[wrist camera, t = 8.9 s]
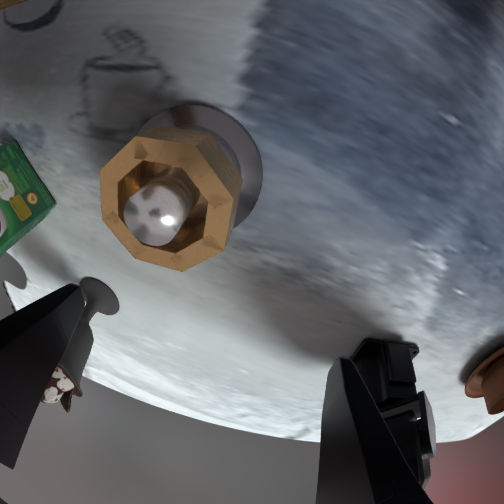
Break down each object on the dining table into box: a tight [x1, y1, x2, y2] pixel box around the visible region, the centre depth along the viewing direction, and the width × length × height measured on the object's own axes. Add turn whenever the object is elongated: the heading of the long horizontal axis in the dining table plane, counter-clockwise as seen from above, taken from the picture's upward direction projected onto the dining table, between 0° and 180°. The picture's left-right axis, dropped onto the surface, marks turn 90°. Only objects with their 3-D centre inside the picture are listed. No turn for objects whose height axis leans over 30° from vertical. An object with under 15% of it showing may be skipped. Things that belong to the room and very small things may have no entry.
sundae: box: [40, 278, 119, 412], centre depth 21 cm, size 7×7×15 cm
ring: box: [100, 125, 243, 272], centre depth 15 cm, size 7×7×2 cm
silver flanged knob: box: [124, 104, 263, 246], centre depth 16 cm, size 9×9×6 cm
